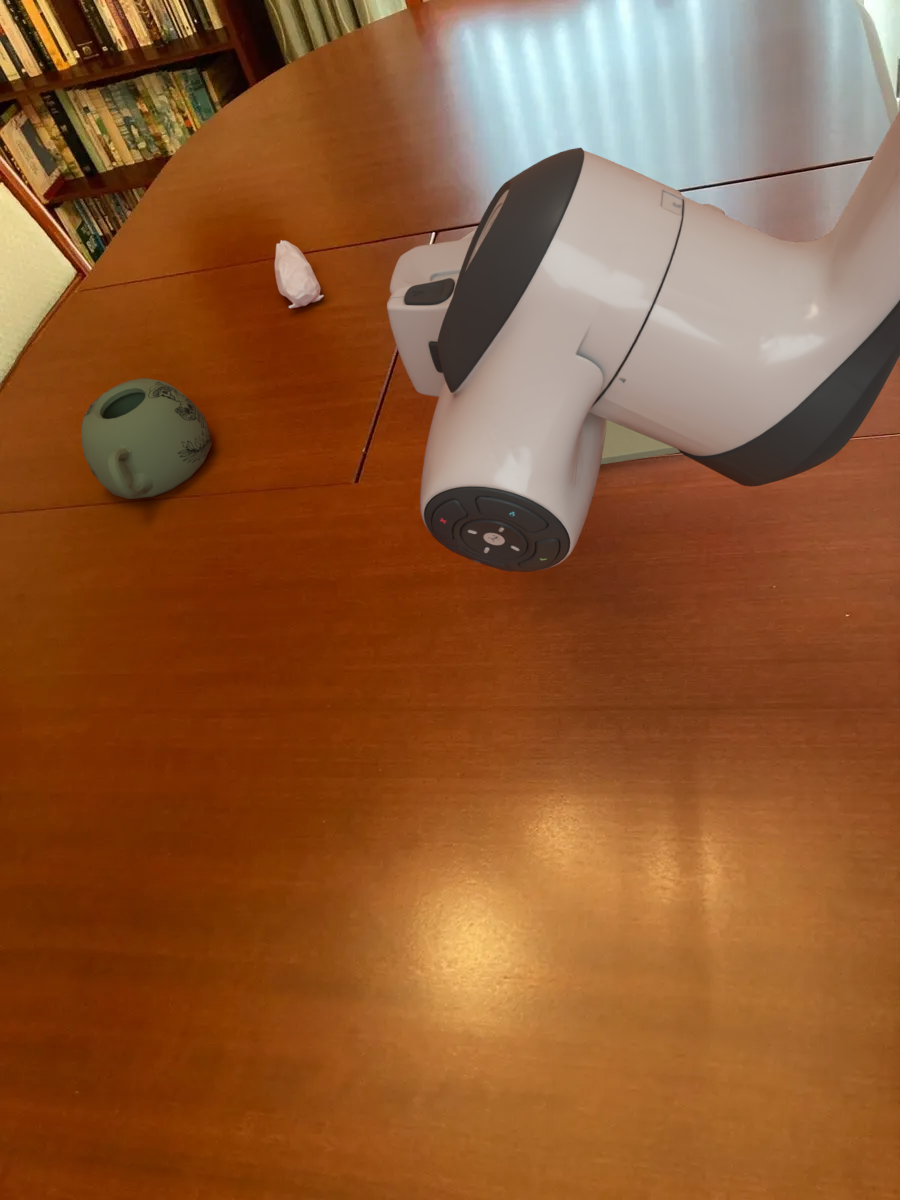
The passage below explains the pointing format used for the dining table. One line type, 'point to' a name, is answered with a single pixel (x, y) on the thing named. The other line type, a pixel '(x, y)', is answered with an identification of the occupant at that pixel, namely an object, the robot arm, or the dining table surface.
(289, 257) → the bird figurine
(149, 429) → the green teapot
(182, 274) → the dining table surface
